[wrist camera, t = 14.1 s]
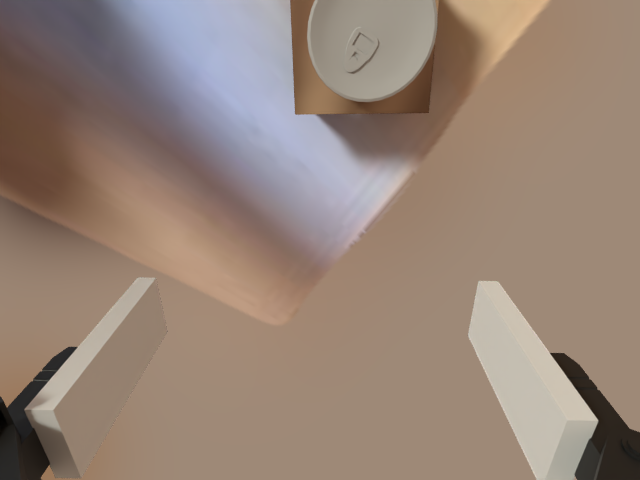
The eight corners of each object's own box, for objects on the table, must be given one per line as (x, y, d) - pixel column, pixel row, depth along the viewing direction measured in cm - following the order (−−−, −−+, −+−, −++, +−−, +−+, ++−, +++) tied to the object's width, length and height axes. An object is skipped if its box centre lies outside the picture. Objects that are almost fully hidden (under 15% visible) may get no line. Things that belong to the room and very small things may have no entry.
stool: (301, 106, 42) (295, 114, 36) (297, -28, 37) (288, -45, 31) (414, 104, 42) (428, 112, 35) (425, -31, 37) (443, -50, 30)
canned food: (305, 75, 34) (291, 82, 25) (332, -30, 31) (329, -71, 21) (388, 102, 35) (407, 119, 25) (423, 1, 32) (461, -24, 22)
